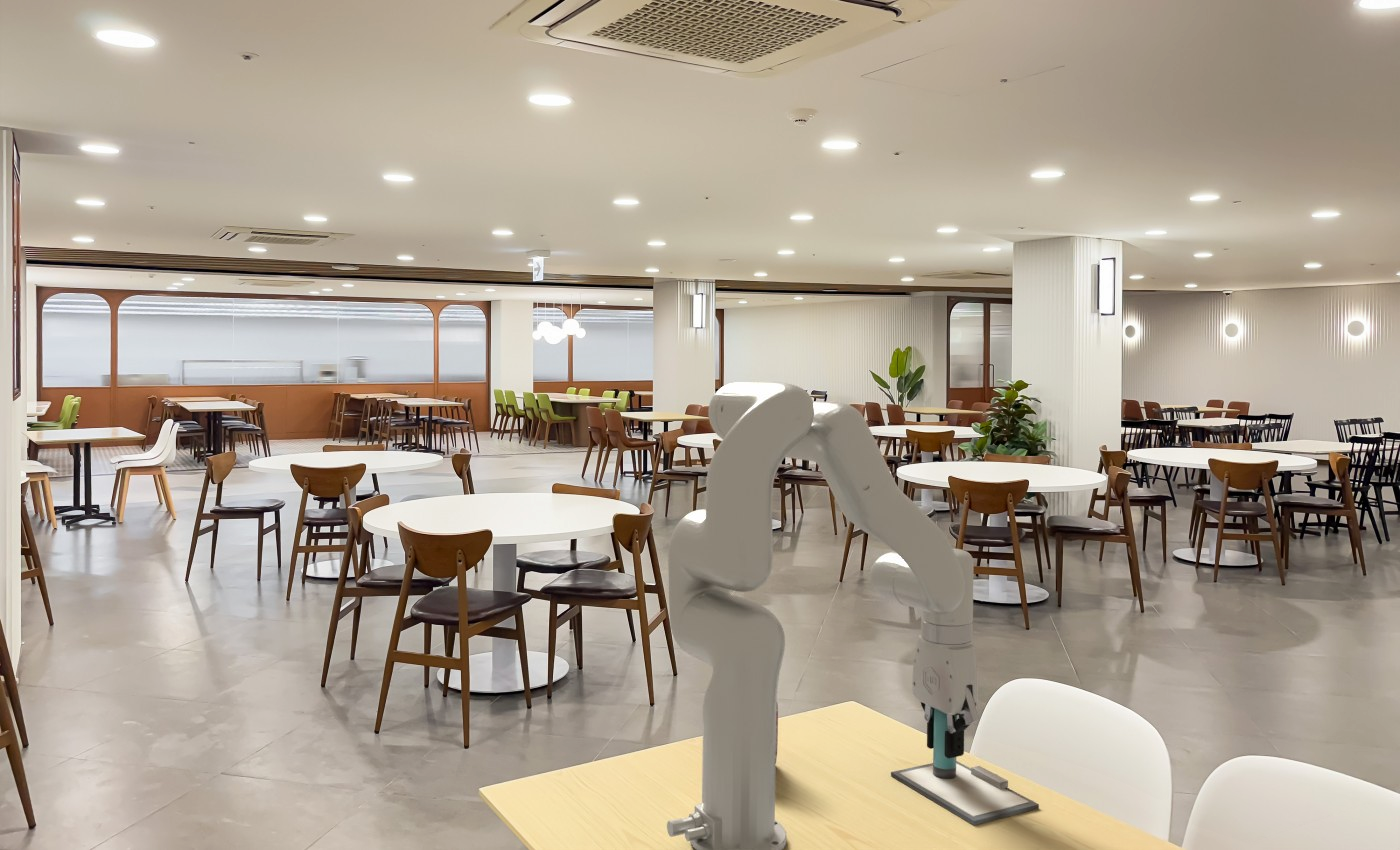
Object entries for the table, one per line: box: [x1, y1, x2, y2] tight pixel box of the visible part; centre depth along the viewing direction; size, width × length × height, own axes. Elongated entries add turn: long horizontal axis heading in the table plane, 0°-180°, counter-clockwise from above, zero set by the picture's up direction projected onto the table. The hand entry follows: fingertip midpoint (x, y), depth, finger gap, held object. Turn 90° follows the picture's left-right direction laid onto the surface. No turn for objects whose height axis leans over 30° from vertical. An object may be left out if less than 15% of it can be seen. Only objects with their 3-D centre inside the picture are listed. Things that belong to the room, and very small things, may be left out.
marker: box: [932, 708, 958, 779], centre depth 148 cm, size 4×4×12 cm
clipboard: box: [890, 760, 1040, 826], centre depth 144 cm, size 12×18×2 cm, turn 27°
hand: (945, 750), depth 148 cm, fingers closed on marker, 3 cm apart
